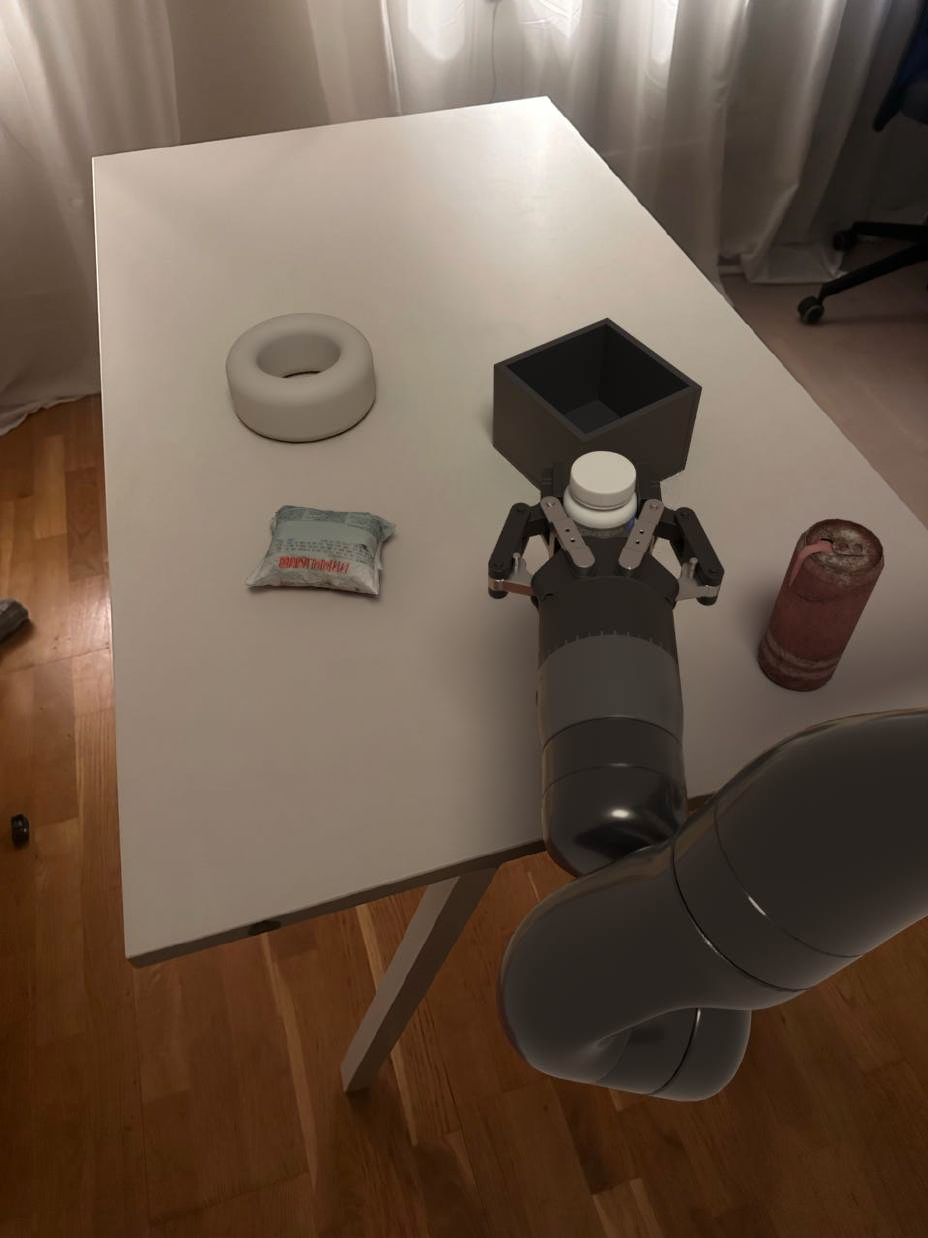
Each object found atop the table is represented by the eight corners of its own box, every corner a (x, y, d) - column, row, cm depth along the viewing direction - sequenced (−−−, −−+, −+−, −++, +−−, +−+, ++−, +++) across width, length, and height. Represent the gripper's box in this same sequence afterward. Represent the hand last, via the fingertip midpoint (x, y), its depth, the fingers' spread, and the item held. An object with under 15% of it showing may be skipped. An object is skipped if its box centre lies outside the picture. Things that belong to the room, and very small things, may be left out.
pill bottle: (634, 587, 63) (651, 493, 57) (564, 595, 63) (574, 501, 57) (617, 537, 66) (632, 442, 60) (550, 544, 66) (558, 450, 60)
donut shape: (207, 424, 99) (192, 370, 94) (283, 346, 108) (273, 293, 103) (332, 462, 95) (323, 408, 90) (401, 379, 104) (397, 325, 99)
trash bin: (598, 398, 101) (607, 316, 94) (685, 469, 94) (702, 386, 86) (492, 446, 97) (493, 364, 89) (575, 524, 89) (583, 442, 82)
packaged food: (380, 611, 83) (375, 572, 79) (248, 599, 84) (237, 560, 80) (398, 541, 88) (394, 501, 85) (274, 530, 89) (265, 491, 86)
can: (739, 647, 80) (780, 527, 69) (805, 626, 81) (855, 505, 70) (780, 703, 76) (829, 586, 65) (848, 680, 77) (907, 561, 67)
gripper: (760, 644, 48) (720, 427, 59) (473, 634, 48) (487, 422, 59) (730, 728, 53) (700, 516, 64) (475, 718, 54) (487, 510, 65)
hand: (598, 472), depth 62 cm, fingers closed on pill bottle, 4 cm apart
